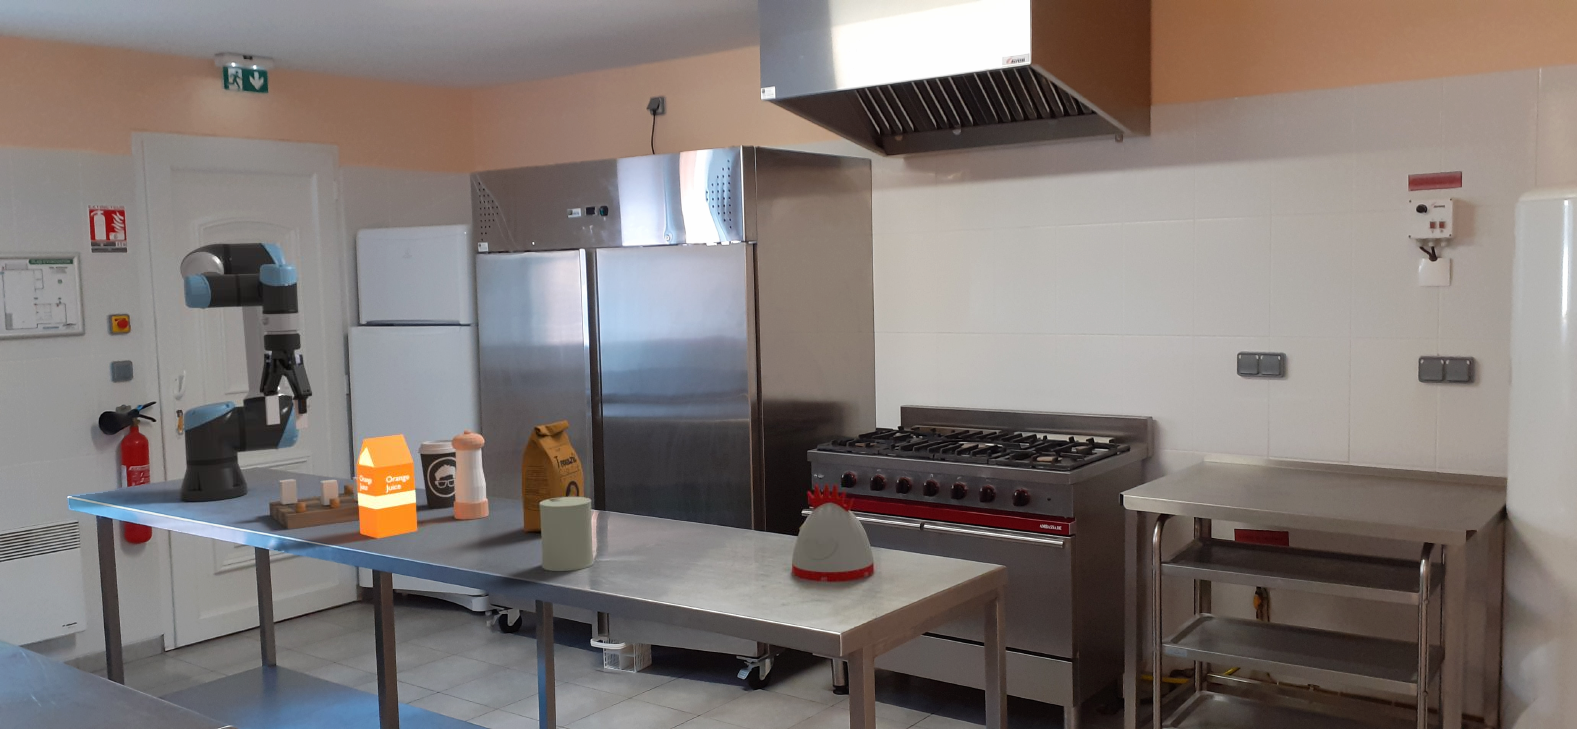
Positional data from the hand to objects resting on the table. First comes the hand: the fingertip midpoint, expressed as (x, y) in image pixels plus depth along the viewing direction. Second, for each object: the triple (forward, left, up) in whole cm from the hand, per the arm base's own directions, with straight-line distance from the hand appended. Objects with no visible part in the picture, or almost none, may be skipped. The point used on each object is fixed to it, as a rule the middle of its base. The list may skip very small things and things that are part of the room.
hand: (287, 426), depth 255 cm
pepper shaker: (+32, +31, -21) cm, 49 cm away
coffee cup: (+14, +30, -20) cm, 39 cm away
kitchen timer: (+123, +62, -21) cm, 139 cm away
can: (+87, +29, -21) cm, 94 cm away
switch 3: (+11, +13, -17) cm, 24 cm away
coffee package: (+56, +40, -21) cm, 72 cm away
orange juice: (+36, +12, -21) cm, 43 cm away
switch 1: (+3, -1, -17) cm, 17 cm away
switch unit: (+7, +6, -20) cm, 22 cm away
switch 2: (+11, +6, -17) cm, 21 cm away
